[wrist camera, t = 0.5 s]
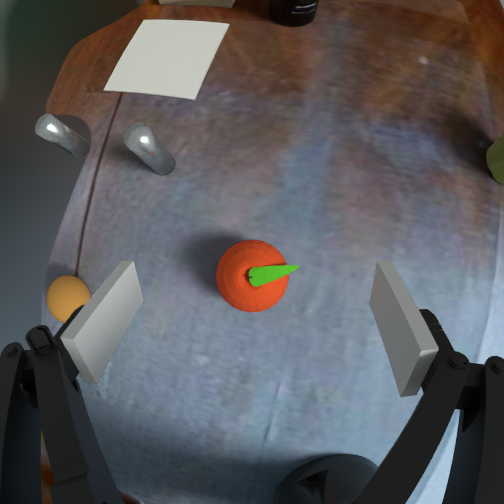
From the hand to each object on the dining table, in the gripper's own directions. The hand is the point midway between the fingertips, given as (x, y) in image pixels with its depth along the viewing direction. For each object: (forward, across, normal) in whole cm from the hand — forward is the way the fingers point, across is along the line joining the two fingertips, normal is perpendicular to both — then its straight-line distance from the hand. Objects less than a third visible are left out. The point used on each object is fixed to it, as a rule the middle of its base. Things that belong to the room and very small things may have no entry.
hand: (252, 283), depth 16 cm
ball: (+10, +22, +9) cm, 26 cm away
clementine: (+15, +1, +8) cm, 17 cm away
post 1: (+21, +24, -6) cm, 32 cm away
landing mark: (+28, +13, -18) cm, 36 cm away
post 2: (+20, +12, -3) cm, 23 cm away
